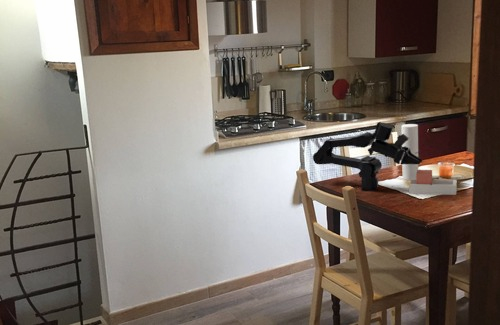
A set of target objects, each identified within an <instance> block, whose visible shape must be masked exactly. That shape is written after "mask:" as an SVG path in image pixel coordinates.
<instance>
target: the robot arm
mask: <svg viewBox="0 0 500 325" xmlns="http://www.w3.org/2000/svg"><path fill="white" fill-rule="evenodd" d="M393 129H394V125H392V124H391V123H386V122H381V121H378V122H376V127H375V130H374V132H372V133H371V132H368V131H367V132H364V133H361V134H357V135H354V136H347V137H338V138H332V137H331V138H329V139H326V140H325V141H324V142H323V144H322V145H321V146H320V147H319V149H318V150H316V152H315V153H314V154H313V155H312V161H313V162H314V164H316V165H328V164H329V165H331V164H332V165H337V166H341V167H347V168H353V169H357V170H360V171H359V172H358V176H359V178H361V188H360V191H371V192H372V191H376V190H378V188H379V177H378V176H377V175H378V174H379V171H380V170H381V169H382V167H383V165H382V162H381V160H380V159H379V158H377V156H372V155H373V154H374V153H376V154H379V155H382V156H384V157H385V158H390V159H393V162H394V164H396V165H402V164H418V165H420V164H421V163H422V162H423V159H421V158H420V157H419V156H418V157H417V156H415V155H414V154H412V153H411V150H410V148H408V147H406V146H404V147H402V145H403V144H404V143H405V142H406V141H407V140H408V139H409V138H408V137H407V136H406V135H404V134H402V133H401V134H399V135H398V136H397V137H396V141H394V142H391V143H390V142H388V141H389V140H390V137H391V134H392V132H393ZM369 146H370V147H369ZM342 147H355V148H361V149H362V148H367V147H369V148H368V149H367V151H368V154H369V155H366V156H364V157H363V158H356V157H352V156H351V157H350V156H346V155H339V154H334V153H333V150H334V148H342ZM408 149H409V150H408Z"/></svg>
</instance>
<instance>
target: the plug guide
mask: <svg viewBox="0 0 500 325" xmlns="http://www.w3.org/2000/svg"><path fill="white" fill-rule="evenodd" d="M457 184H458V182H457V179H443V178H440V179H437V178H436V179H435V178H432V184H416V179H411V180H410V183H408V194H412V195H413V194H416V195H417V194H418V195H445V196H446V195H447V196H449V195H451V196H455V195H457V187H458V186H457Z"/></svg>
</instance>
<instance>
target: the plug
mask: <svg viewBox="0 0 500 325" xmlns="http://www.w3.org/2000/svg"><path fill="white" fill-rule="evenodd" d="M432 179H433V169H418V170H417V173H416V184H432Z"/></svg>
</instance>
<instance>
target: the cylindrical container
mask: <svg viewBox="0 0 500 325" xmlns="http://www.w3.org/2000/svg"><path fill="white" fill-rule="evenodd" d="M400 126H401V135H402V134H404V135H406V136H407V137H408V138H409V139H408V140H407V141H406V142H405V143H404V144H403V145H402V147H404V146H406V147H408V148H410V150H411V153H412V154H414V155H415V156H417V157H418V158H419V124H416V123H407V124H406V123H405V124H402V125H400ZM408 150H409V149H408ZM401 166H402V167H401V168H402V170H401V171H402V180H404V181H411V179H416V173H417V170H419V164H401Z"/></svg>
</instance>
